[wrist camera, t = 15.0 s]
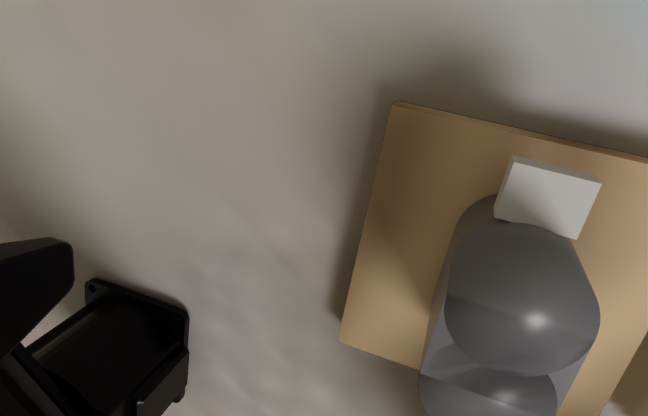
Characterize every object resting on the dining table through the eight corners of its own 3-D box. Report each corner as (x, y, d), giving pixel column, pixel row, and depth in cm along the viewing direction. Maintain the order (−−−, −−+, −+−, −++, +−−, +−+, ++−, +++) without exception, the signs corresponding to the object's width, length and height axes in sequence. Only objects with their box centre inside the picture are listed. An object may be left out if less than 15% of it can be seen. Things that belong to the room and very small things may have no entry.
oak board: (343, 326, 22) (337, 341, 21) (396, 100, 18) (391, 105, 17) (584, 409, 20) (590, 430, 19) (714, 172, 15) (731, 183, 14)
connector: (421, 331, 20) (403, 418, 15) (485, 135, 16) (487, 174, 12) (517, 363, 19) (528, 466, 14) (606, 164, 15) (658, 218, 11)
